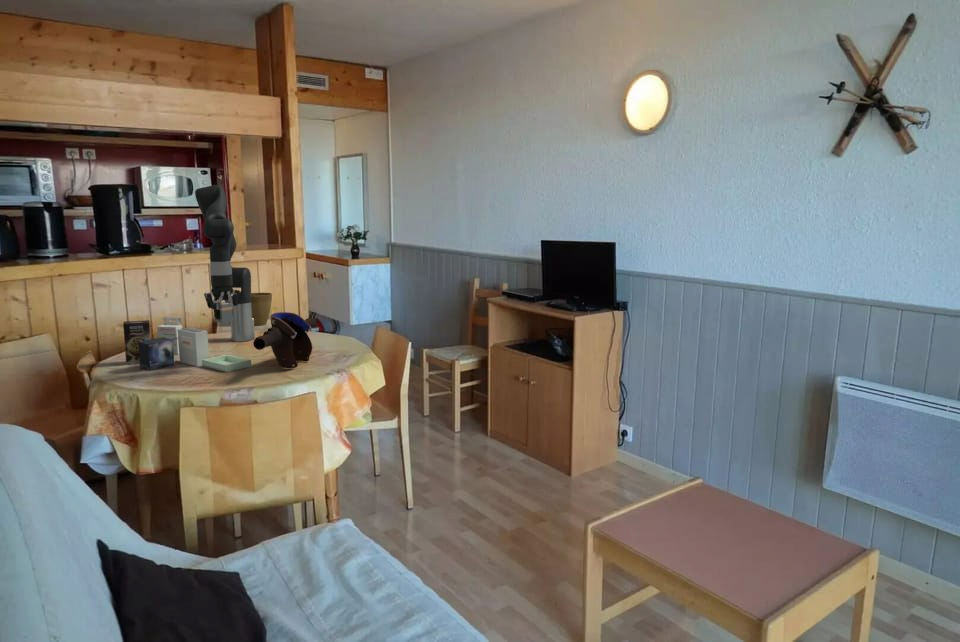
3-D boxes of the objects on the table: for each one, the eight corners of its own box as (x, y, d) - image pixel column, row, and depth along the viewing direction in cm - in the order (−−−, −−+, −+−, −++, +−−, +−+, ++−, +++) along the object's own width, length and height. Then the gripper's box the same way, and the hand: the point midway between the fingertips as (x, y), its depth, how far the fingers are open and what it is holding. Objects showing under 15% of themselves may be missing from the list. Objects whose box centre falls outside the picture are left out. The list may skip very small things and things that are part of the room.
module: (225, 320, 244) (224, 301, 243) (233, 321, 241) (232, 302, 240) (215, 322, 240) (213, 303, 239) (222, 323, 238) (221, 304, 236)
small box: (149, 371, 236) (146, 343, 234) (139, 368, 239) (136, 341, 237) (175, 365, 244) (173, 338, 243) (165, 363, 248) (163, 336, 246)
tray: (227, 360, 252) (227, 354, 252) (251, 366, 244) (251, 359, 244) (202, 366, 243) (201, 359, 243) (226, 372, 235) (225, 365, 235)
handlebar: (276, 380, 225) (274, 324, 221) (243, 378, 227) (240, 323, 223) (328, 352, 268) (327, 306, 264) (300, 351, 270) (298, 304, 267)
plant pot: (278, 322, 337) (277, 292, 335) (265, 327, 323) (264, 296, 320) (251, 321, 339) (250, 291, 336) (237, 326, 325) (236, 295, 322)
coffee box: (126, 365, 244) (122, 323, 241) (126, 361, 250) (122, 321, 247) (152, 362, 248) (149, 322, 245) (152, 359, 254) (149, 319, 251)
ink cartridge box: (158, 354, 263) (155, 319, 260) (165, 351, 268) (162, 317, 265) (177, 354, 262) (175, 319, 259) (184, 352, 267) (182, 317, 264)
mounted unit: (193, 359, 255) (190, 326, 252) (210, 363, 248) (208, 329, 246) (179, 362, 250) (176, 328, 247) (196, 366, 243) (194, 332, 241)
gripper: (231, 271, 245) (234, 315, 248) (197, 274, 234) (200, 320, 237) (244, 272, 241) (246, 317, 244) (209, 275, 230) (212, 322, 233)
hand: (223, 318), depth 241 cm, fingers closed on module, 4 cm apart
